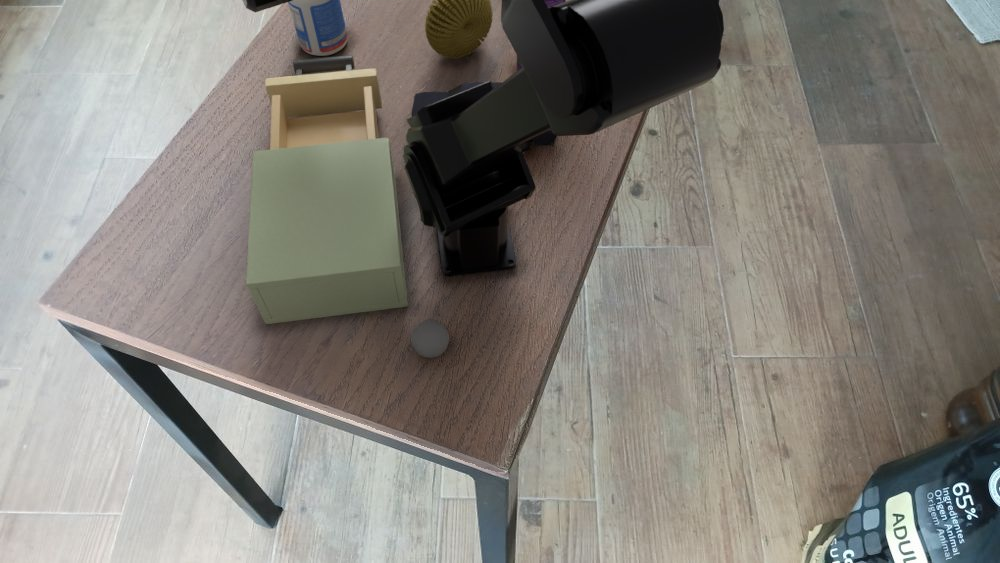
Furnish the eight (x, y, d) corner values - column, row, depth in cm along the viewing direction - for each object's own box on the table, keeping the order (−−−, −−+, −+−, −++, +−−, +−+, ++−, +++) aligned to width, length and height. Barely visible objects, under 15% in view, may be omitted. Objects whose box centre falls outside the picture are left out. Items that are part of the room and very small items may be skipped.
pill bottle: (352, 28, 83) (337, -52, 75) (342, 59, 80) (325, -22, 72) (305, 25, 83) (285, -56, 75) (293, 55, 80) (271, -26, 72)
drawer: (276, 83, 76) (266, 50, 73) (379, 74, 77) (373, 40, 74) (273, 210, 66) (261, 179, 63) (390, 197, 67) (384, 166, 64)
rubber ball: (451, 361, 59) (449, 343, 56) (414, 366, 58) (411, 348, 56) (447, 330, 60) (445, 310, 58) (411, 334, 60) (408, 315, 57)
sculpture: (478, 29, 83) (476, -35, 76) (499, 47, 81) (500, -18, 75) (420, 57, 80) (414, -8, 73) (442, 76, 78) (437, 12, 72)
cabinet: (269, 195, 68) (252, 150, 64) (395, 181, 70) (388, 136, 65) (265, 324, 60) (245, 284, 56) (408, 306, 62) (400, 266, 57)
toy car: (416, 112, 75) (412, 73, 71) (557, 114, 75) (560, 75, 71) (411, 152, 72) (406, 114, 68) (558, 155, 72) (562, 117, 68)
